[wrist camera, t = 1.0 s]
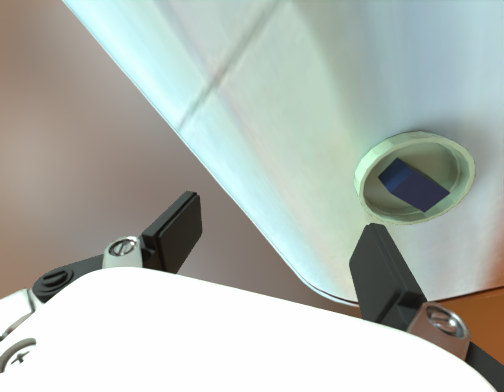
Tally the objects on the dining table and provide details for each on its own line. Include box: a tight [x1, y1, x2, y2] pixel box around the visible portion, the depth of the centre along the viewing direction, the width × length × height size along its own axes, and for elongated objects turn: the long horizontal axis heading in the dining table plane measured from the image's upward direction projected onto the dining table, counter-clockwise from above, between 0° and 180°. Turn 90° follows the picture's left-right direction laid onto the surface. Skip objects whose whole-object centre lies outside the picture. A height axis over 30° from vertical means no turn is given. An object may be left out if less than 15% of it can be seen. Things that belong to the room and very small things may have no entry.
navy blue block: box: [378, 158, 450, 213], centre depth 35 cm, size 5×7×6 cm, turn 64°
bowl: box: [354, 131, 475, 225], centre depth 36 cm, size 16×16×4 cm
